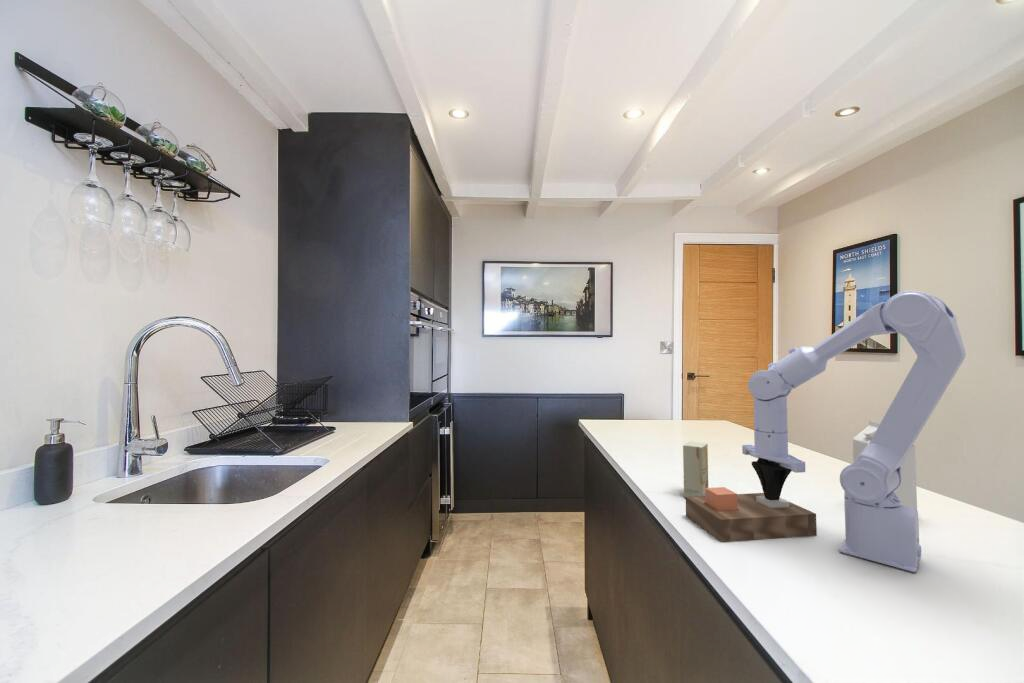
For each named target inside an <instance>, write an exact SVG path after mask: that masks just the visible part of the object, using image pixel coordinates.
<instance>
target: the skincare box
mask: <svg viewBox="0 0 1024 683" xmlns="http://www.w3.org/2000/svg"><path fill="white" fill-rule="evenodd" d="M708 452H709V451H708V443H705V442H700V441H699V442H698V441H697V442H695V441H688V442H686V443H685V444H683V445H682V460H683V461H682V462H683V463H682V464H683V467H682V468H683V497H684V498H686V497H694V496H706V492H705V488H709V457H708V456H709V453H708Z"/></svg>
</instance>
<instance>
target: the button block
mask: <svg viewBox="0 0 1024 683" xmlns="http://www.w3.org/2000/svg"><path fill="white" fill-rule="evenodd" d="M756 496H764V492H756V493H754V492H753V493H737V510H733V511H716V510H714V509H713V508H711V507H709V506H708V505H706V496H694V497H685V517H686V518H688V519H689V520H691V522H693V523H695V524H696V525H697V526H699V527H700V528H702V529H703V530H705V532H707V533H708V534H710V535H711V536H713V537H714V538H715V539H717V540H718V541H720V542H721V543H728V542H729V543H730V542H742V541H757V540H758V541H759V540H772V539H785V538H786V539H787V538H788V539H789V538H800V537H801V538H803V537H814V536H817V534H818V532H817V527H818V526H817V513H815V512H813V511H811V510H809V509H808V508H807V509H806V508H804V507H802V506H800V505H797V504H795V503H793V502H791V501H788V500H787V501H788V502H789V507H784V508H769V507H767V506H765V505H763V504H761V503H759V502H757V501H756Z"/></svg>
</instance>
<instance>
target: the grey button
mask: <svg viewBox="0 0 1024 683" xmlns="http://www.w3.org/2000/svg"><path fill="white" fill-rule="evenodd" d="M756 501H757V502H759V503H761V504H763V505H765V506H767V507H769V508H784V507H789V502H790V501H789V502H788V500H786V499H784V498H782V497H780V498H779V500H768V499H766V498H765V496H756Z"/></svg>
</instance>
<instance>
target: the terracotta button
mask: <svg viewBox="0 0 1024 683" xmlns="http://www.w3.org/2000/svg"><path fill="white" fill-rule="evenodd" d="M705 492H706V505H708V506H709V507H711V508H713V509H714V510H716V511H733V510H737V494H738V493H737V492H734V491H733V490H730V489H729V488H726V487H724V486H721V487H719V486H718V487H708V488H705Z"/></svg>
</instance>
